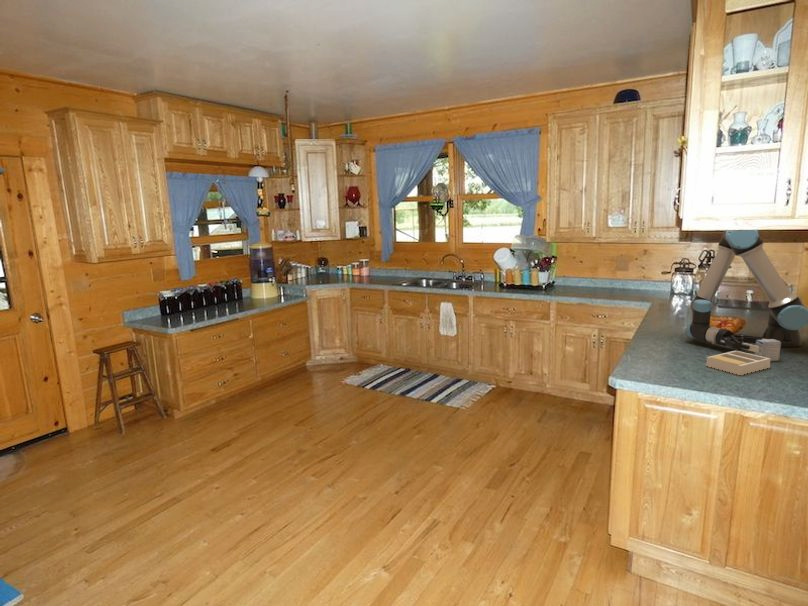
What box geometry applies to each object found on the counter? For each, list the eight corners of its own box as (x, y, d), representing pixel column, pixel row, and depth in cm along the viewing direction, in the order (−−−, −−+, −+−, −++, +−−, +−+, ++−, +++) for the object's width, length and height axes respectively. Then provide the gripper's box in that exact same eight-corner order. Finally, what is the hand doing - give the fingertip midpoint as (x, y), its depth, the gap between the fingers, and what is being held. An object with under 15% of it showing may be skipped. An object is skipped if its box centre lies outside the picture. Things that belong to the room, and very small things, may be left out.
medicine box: (771, 358, 215) (773, 338, 213) (779, 361, 210) (781, 341, 209) (753, 358, 214) (755, 339, 213) (761, 361, 210) (763, 342, 208)
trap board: (735, 359, 215) (736, 349, 214) (769, 367, 202) (770, 357, 201) (706, 366, 207) (706, 356, 206) (740, 375, 194) (741, 365, 194)
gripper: (736, 340, 235) (785, 351, 216) (701, 348, 226) (748, 359, 206) (737, 325, 234) (786, 334, 215) (702, 332, 224) (750, 342, 205)
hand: (768, 347), depth 210 cm, fingers open, 13 cm apart
